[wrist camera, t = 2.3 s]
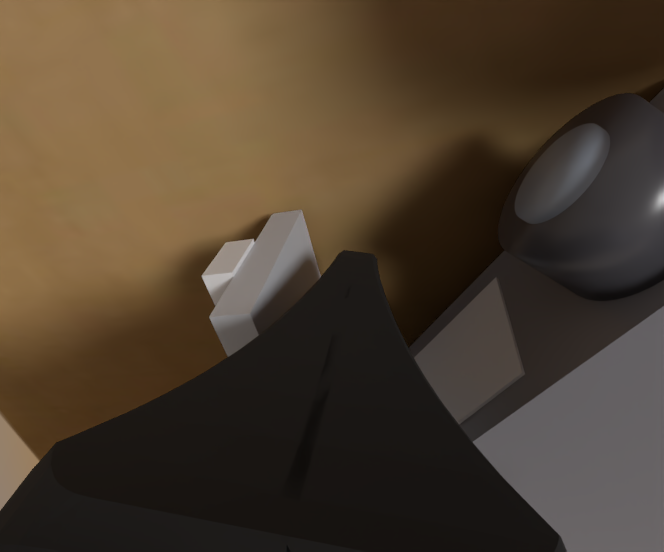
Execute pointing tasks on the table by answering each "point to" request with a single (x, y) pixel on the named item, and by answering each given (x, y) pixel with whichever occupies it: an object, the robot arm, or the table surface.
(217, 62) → the table surface
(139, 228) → the table surface
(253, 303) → the door
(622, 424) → the camera body
